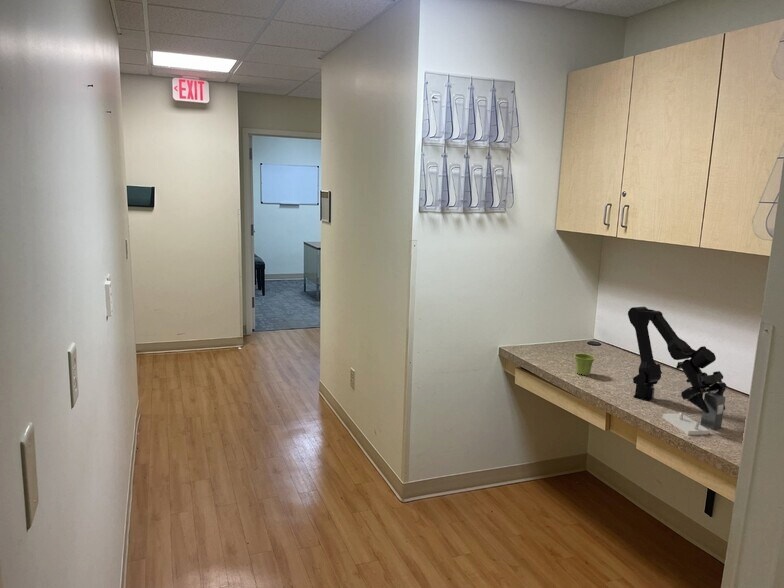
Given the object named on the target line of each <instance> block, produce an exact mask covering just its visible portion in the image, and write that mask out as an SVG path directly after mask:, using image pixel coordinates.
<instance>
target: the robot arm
mask: <svg viewBox="0 0 784 588" xmlns="http://www.w3.org/2000/svg"><path fill="white" fill-rule="evenodd" d="M627 316H628V319H629V323H630V324H631V325H632V327H633V328H634V329H635V336H636V340H637V341H636V342H637V346H638V351H639V356H640V365H639V367H638V374H637V375H635V376H634V377H632V379H633V380H632V382H633V383H634V384H635V393H634V395H633V398H636V399H639V400H644V401H647V402H648V401H649V402H650V401H651V400H652V399H654V397H655V388H654V386H655V385H657V384H658V382H659V381H660V379H662V374H663V372H662V369H661V364H660V363H657V362H656V361H655V360H654V355H653V351H652V343H651V337H650V333H649V324H650V322H651V324H653V326H654V327H655V328H656V330H657V332H658V333H659V334H660V336H661V337H662V339H663V340H664V342H665V343H666V347H667V351H668V354H669V355H670V357H671V359H673V360H675V361H678V362H677V365H676V370H682V371H683V373H684V374H685V376H686V378H687V379H686V383H690V386H689V387H688V388H686V389H684V390H682V391H681V395H680V396H681V399H683V400H685V401H687V402H690V403H691V404H693V405H695V406H696V407H697V408H699V409H700V410H703V411H704V412H706V413H709V410H708V407H707V406H706V404H705V402H704V394H705V393H711V392H713V393H716V394H718V395H721V396H724V392H726V390H727V389H728V386H727V384H726V383H725V382H724V381H722V380H723V379H724V375H723V373H722V372H721V371H720V370H718V371H714V372H712V374H708V373H707V372H705V371H704V372H703V371H702V369H704V368H706V367H708V366H709V365H711V364H713V363H715V361H716V359H717V356H716V355H715V353H714V352H713V351H711V350H710V349H708V348H707V347H706V346H705V345H703V346H700V347H699V348H698V349H697V350H695V349H693V348H692V347H691V346H690V345H689V343H687V342H686V341H685V340H683V339H682V338H680V337H679V336H678V335H677V334H676V332H675V331H674V329H673V328H672V327H671V325H670V323H669V322H668V321H667V320H666V318H665V317H664V315H663V312H661V311H660V310H655V309H651V308H648V307H646V306H636V307H635V306H634V307H631V308H629V309H628V311H627ZM680 360H683V361H680ZM725 404H726V403H725ZM725 404H724V411H725V410H726V405H725Z"/></svg>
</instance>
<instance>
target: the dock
mask: <svg viewBox="0 0 784 588" xmlns="http://www.w3.org/2000/svg"><path fill="white" fill-rule="evenodd" d="M662 418H663V419H664V420H666V421H667V422H669V423H670V425H671V424H672V425H673V426H674V427H675V428H677V429H679V430H680V431H682V432H683V433H685V434H686V435H688V436H692V435H693V436H696V435H709V434H710V433H709V431H710V430H708V428H707V427H705V426H703V425H701V424H700V422H698V421H695V420H694V419H692V418H690V417H689V416H687V415H685V414H684V412H683V411H682V412H679V413H663V414H662Z"/></svg>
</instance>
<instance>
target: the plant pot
mask: <svg viewBox="0 0 784 588" xmlns="http://www.w3.org/2000/svg"><path fill="white" fill-rule="evenodd" d="M573 356H574V359H575V373H576V372H577V373H578V374H577V373H576V374H577V375H579V374H580V375H581V374H582V376H584V375H585V376H589V375H590V373H591V370H592V366H593V363H594V360H596V358H595V357H596V356H594V355H591V354H588V353H575V354H574V355H573ZM588 374H589V375H588Z"/></svg>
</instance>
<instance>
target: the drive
mask: <svg viewBox="0 0 784 588" xmlns="http://www.w3.org/2000/svg"><path fill="white" fill-rule="evenodd" d="M703 400H704V402H705V404H706V406H707V407H708V410H709V413H706V412H704V411H703V410H702V412H701V418H700V425H701V426H703V427H704V428H706V429H709V428H710V430H712V431H717V430H721V429H722V425H723V418H724V411H725V410H724V404H726V403H725V402H726V397H725V396H724V395H723V396H721V395H718V394H716V393H713V392H711V393H708V392H706V393H704V395H703ZM716 429H717V430H716Z"/></svg>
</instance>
